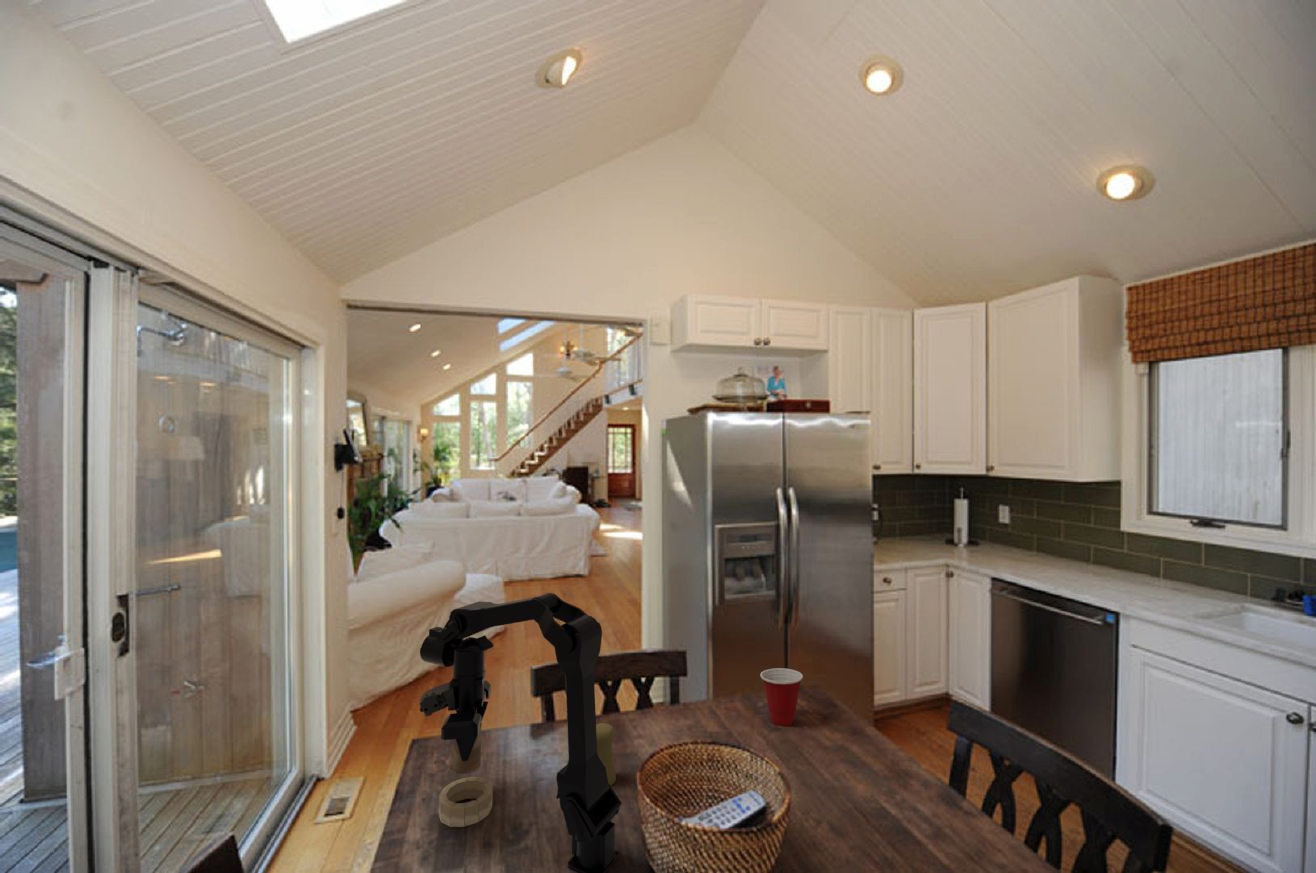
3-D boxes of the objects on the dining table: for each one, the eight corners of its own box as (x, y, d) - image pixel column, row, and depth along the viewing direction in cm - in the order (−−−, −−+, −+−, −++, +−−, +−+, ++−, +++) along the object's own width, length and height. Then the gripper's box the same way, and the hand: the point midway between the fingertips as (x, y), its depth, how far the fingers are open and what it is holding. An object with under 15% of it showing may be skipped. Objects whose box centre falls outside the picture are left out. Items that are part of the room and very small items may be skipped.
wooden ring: (501, 803, 107) (502, 785, 107) (464, 833, 99) (464, 813, 99) (467, 789, 111) (467, 772, 111) (428, 816, 103) (428, 797, 103)
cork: (611, 789, 112) (612, 734, 112) (583, 785, 113) (583, 731, 113) (619, 772, 118) (620, 720, 118) (592, 769, 119) (593, 717, 119)
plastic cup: (777, 706, 149) (777, 662, 150) (811, 721, 141) (811, 674, 141) (751, 718, 142) (751, 671, 143) (785, 735, 134) (785, 685, 135)
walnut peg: (486, 763, 106) (487, 716, 106) (466, 776, 102) (467, 727, 102) (467, 756, 109) (468, 710, 109) (447, 769, 104) (448, 721, 104)
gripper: (435, 655, 114) (434, 732, 113) (411, 694, 95) (409, 785, 95) (491, 652, 115) (490, 727, 115) (478, 690, 97) (476, 779, 97)
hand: (467, 752), depth 105 cm, fingers closed on walnut peg, 5 cm apart
